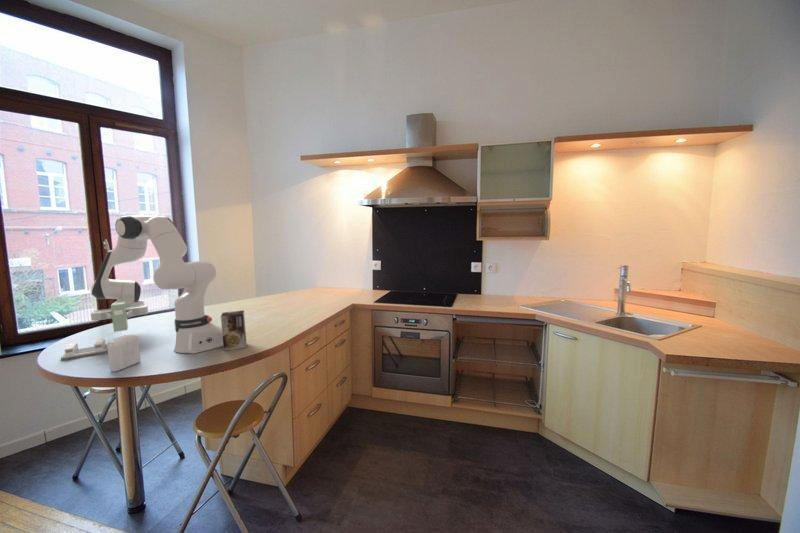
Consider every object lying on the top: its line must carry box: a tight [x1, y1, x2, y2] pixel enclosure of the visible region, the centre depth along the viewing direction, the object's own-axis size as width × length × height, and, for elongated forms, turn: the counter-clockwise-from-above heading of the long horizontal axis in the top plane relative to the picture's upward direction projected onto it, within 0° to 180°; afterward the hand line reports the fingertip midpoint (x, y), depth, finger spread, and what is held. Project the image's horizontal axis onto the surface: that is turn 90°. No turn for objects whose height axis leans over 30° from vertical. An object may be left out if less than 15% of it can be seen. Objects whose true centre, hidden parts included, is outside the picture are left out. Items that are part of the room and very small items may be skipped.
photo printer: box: [106, 334, 141, 373], centre depth 126 cm, size 10×4×12 cm, turn 170°
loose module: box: [110, 302, 129, 333], centre depth 146 cm, size 4×6×12 cm
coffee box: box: [220, 310, 248, 352], centre depth 146 cm, size 9×6×16 cm
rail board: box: [60, 337, 108, 362], centre depth 141 cm, size 14×11×4 cm
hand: (119, 315), depth 146 cm, fingers closed on loose module, 4 cm apart
